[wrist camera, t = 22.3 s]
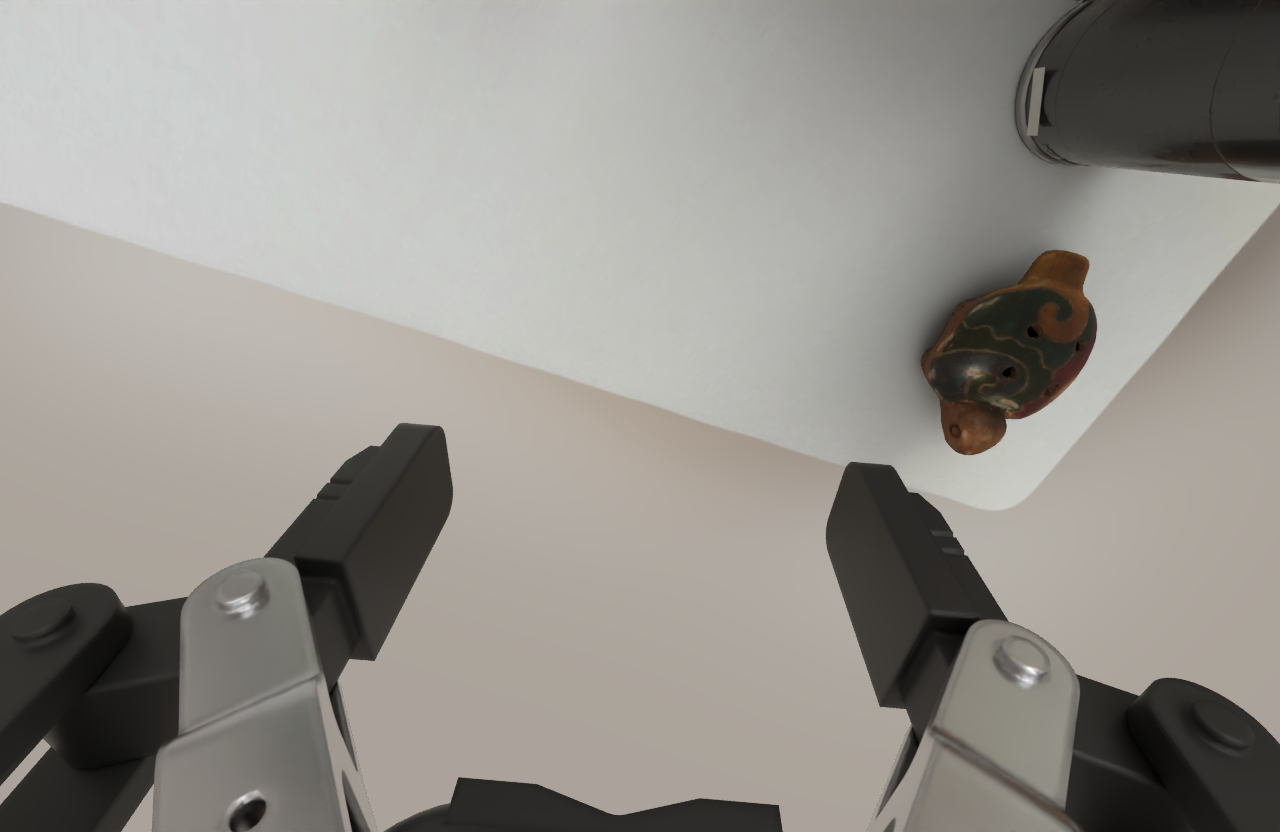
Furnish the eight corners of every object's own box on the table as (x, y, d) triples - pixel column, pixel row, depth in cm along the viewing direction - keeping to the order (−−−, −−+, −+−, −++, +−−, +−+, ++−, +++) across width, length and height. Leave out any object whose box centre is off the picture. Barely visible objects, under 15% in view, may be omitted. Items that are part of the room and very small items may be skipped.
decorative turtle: (876, 405, 46) (914, 448, 39) (969, 224, 40) (1035, 234, 33) (982, 437, 47) (1039, 485, 39) (1089, 263, 40) (1181, 281, 33)
